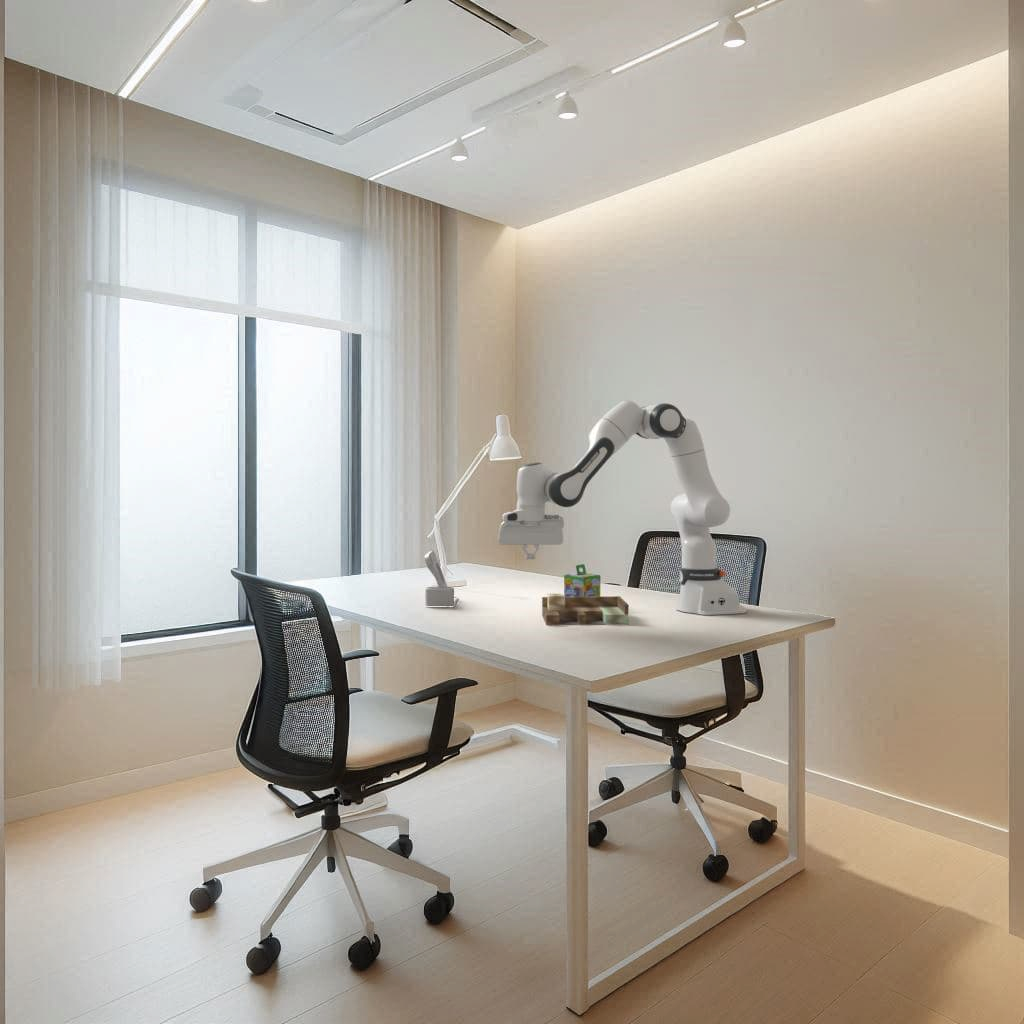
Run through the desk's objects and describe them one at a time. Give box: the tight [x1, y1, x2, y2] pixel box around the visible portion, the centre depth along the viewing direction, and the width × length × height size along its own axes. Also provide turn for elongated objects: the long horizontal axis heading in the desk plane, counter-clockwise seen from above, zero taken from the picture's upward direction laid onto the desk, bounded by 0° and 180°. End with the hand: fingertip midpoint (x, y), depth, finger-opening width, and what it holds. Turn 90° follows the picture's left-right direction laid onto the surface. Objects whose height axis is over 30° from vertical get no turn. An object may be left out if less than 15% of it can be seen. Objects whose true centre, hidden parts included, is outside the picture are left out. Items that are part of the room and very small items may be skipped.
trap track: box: [541, 595, 630, 626], centre depth 241 cm, size 25×15×6 cm, turn 92°
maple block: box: [547, 592, 565, 611], centre depth 243 cm, size 5×5×4 cm
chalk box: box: [563, 563, 601, 597], centre depth 260 cm, size 9×9×15 cm
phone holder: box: [424, 550, 459, 606], centre depth 270 cm, size 17×10×18 cm, turn 179°
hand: (530, 559), depth 242 cm, fingers closed
